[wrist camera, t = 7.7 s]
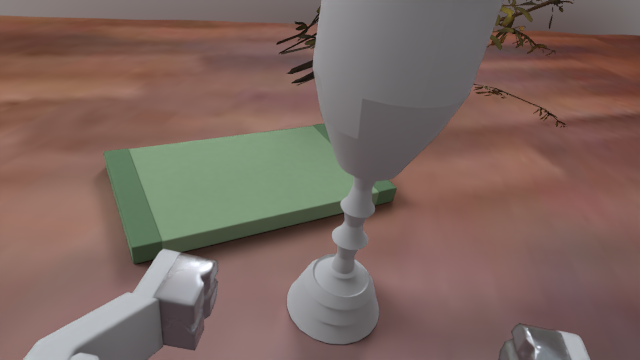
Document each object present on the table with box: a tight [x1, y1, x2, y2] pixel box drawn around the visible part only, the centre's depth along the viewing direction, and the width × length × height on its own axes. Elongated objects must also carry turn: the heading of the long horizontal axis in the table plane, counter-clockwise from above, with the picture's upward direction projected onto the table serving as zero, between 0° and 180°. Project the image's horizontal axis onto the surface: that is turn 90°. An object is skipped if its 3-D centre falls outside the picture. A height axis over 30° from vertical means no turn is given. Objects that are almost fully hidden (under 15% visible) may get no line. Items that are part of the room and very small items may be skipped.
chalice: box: [287, 0, 504, 344], centre depth 19 cm, size 7×7×18 cm
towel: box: [104, 124, 396, 264], centre depth 31 cm, size 18×10×1 cm, turn 119°
